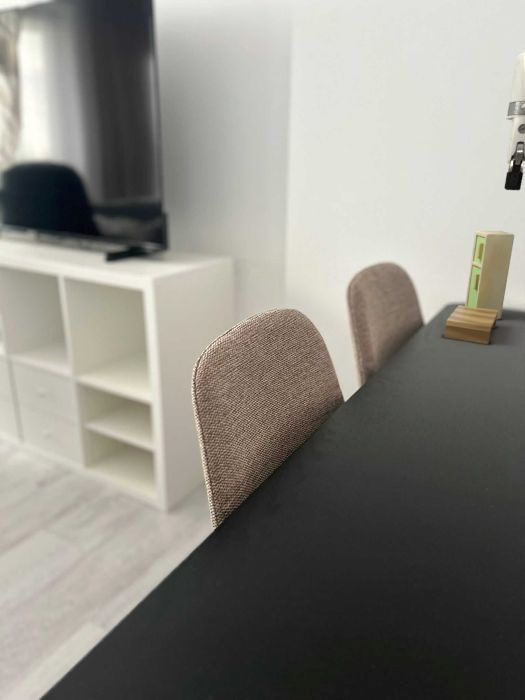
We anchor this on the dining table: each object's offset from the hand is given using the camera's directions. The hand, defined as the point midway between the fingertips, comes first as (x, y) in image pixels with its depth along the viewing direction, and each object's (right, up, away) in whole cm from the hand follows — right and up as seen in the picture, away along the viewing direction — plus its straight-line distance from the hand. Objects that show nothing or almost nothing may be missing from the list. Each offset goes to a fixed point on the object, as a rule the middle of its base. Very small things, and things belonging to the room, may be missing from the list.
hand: (511, 189), depth 124 cm
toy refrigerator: (-4, -30, +8) cm, 31 cm away
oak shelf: (-12, -35, -6) cm, 37 cm away
